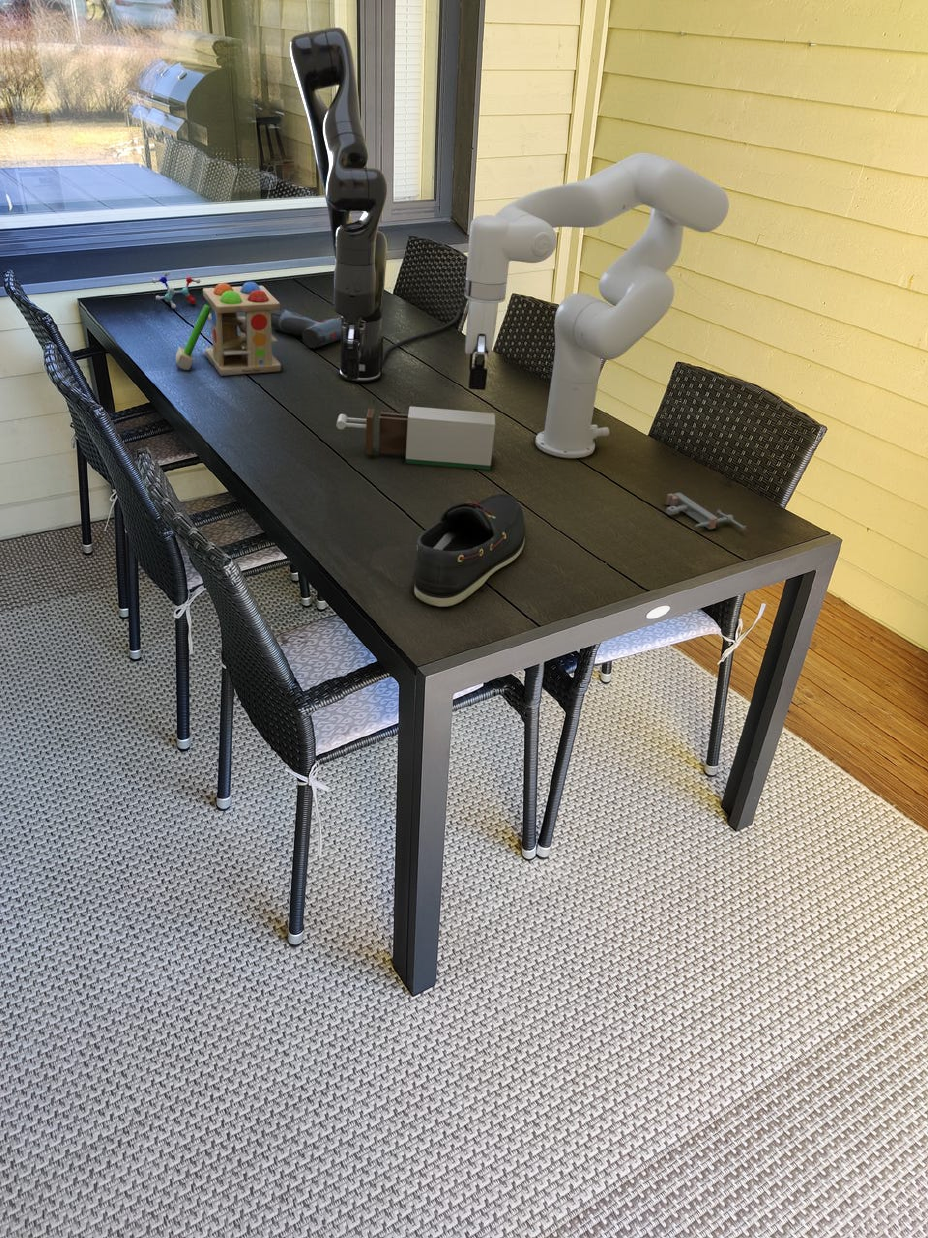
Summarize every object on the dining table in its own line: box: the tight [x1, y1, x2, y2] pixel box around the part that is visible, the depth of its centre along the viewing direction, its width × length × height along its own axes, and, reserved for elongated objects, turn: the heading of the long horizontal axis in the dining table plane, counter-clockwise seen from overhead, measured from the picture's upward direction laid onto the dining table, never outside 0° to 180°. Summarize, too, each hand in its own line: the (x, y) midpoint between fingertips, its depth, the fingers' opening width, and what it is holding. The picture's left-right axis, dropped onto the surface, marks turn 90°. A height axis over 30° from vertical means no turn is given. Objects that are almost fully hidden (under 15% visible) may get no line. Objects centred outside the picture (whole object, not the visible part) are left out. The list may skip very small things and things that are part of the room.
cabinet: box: [404, 405, 496, 471], centre depth 195 cm, size 17×6×10 cm, turn 89°
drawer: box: [336, 408, 409, 456], centre depth 194 cm, size 22×4×8 cm, turn 89°
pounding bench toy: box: [174, 281, 282, 377], centre depth 225 cm, size 23×14×18 cm, turn 116°
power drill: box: [271, 308, 341, 349], centre depth 252 cm, size 5×19×20 cm
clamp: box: [665, 492, 747, 532], centre depth 184 cm, size 15×2×10 cm
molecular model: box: [151, 270, 201, 310], centre depth 262 cm, size 12×10×10 cm
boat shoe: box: [412, 493, 526, 608], centre depth 163 cm, size 13×33×10 cm, turn 147°
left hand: (352, 377), depth 188 cm, fingers closed
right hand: (477, 379), depth 188 cm, fingers open, 9 cm apart
